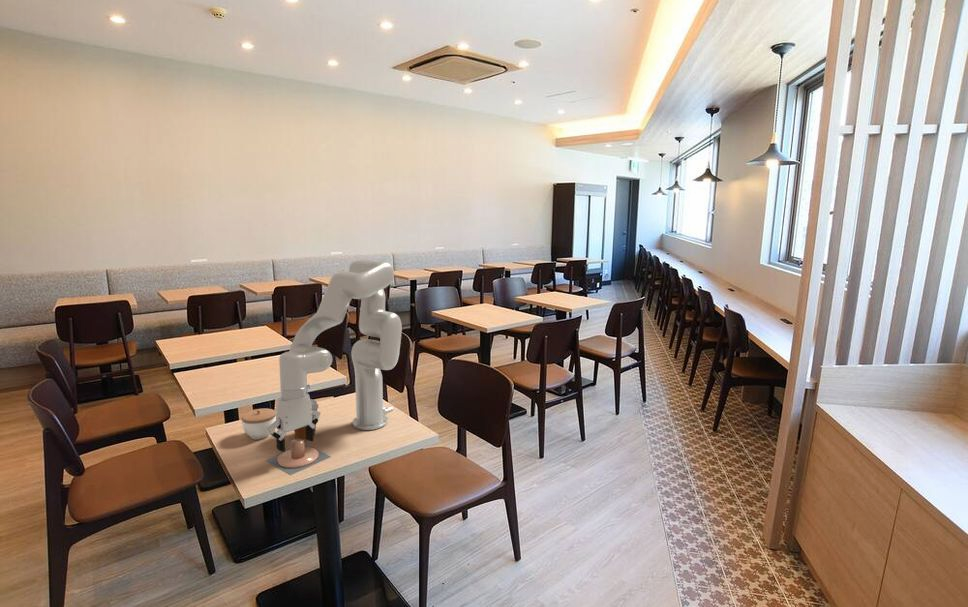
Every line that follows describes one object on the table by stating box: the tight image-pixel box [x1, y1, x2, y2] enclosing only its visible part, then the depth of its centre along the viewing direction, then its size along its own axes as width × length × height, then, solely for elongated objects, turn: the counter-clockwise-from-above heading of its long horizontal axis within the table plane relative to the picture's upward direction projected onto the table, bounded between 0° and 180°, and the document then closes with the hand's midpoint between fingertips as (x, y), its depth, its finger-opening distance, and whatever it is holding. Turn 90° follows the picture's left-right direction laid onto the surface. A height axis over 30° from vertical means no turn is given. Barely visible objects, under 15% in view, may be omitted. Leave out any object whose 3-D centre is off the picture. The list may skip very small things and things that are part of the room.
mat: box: [264, 443, 331, 476], centre depth 152 cm, size 14×14×1 cm
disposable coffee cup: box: [293, 398, 319, 440], centre depth 168 cm, size 10×10×12 cm
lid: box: [277, 438, 319, 468], centre depth 152 cm, size 12×12×6 cm
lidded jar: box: [241, 408, 276, 440], centre depth 168 cm, size 11×11×9 cm
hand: (295, 445), depth 151 cm, fingers open, 9 cm apart
